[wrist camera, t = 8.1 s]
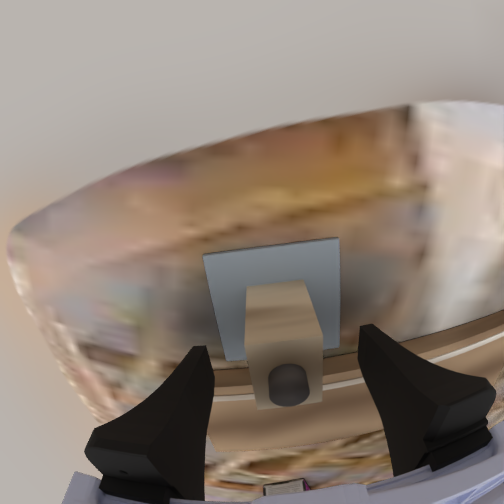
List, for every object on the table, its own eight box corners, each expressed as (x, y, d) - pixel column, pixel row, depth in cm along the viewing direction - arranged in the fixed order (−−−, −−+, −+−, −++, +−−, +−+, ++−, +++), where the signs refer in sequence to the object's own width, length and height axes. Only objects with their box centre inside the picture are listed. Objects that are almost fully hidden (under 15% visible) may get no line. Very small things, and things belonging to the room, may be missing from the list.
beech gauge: (306, 339, 17) (325, 417, 11) (256, 345, 17) (257, 426, 11) (303, 279, 15) (328, 351, 10) (246, 286, 15) (243, 362, 10)
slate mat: (338, 344, 17) (339, 347, 17) (226, 358, 18) (226, 361, 17) (337, 237, 15) (339, 238, 15) (203, 254, 15) (202, 256, 15)
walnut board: (486, 375, 19) (494, 385, 18) (217, 436, 21) (216, 452, 19) (511, 306, 17) (522, 316, 15) (192, 371, 18) (188, 389, 16)
